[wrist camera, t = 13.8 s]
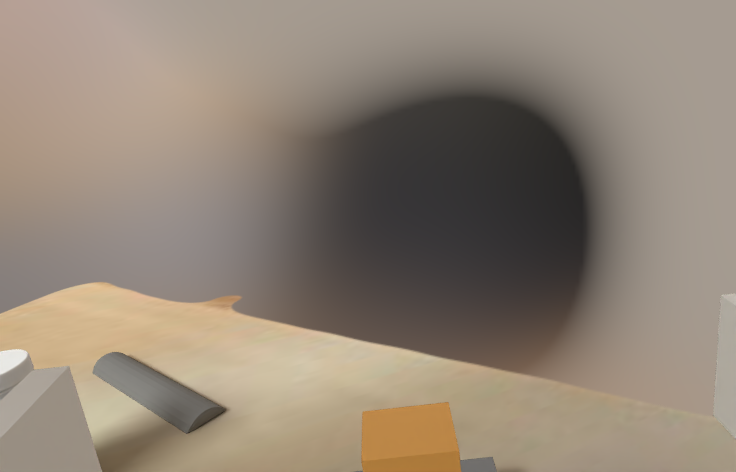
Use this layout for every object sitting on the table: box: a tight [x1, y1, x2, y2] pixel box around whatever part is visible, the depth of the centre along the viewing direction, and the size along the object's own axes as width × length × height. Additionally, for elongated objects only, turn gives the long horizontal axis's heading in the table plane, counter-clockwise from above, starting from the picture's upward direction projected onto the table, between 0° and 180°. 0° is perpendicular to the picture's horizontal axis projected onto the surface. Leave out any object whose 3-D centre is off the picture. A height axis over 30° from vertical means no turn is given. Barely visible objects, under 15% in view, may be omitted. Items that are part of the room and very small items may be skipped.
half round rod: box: [93, 352, 225, 434], centre depth 56 cm, size 4×20×2 cm, turn 48°
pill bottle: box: [0, 349, 34, 401], centre depth 42 cm, size 6×6×11 cm
